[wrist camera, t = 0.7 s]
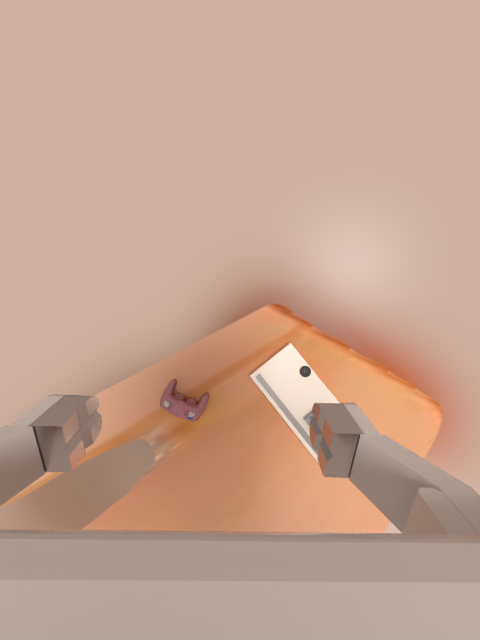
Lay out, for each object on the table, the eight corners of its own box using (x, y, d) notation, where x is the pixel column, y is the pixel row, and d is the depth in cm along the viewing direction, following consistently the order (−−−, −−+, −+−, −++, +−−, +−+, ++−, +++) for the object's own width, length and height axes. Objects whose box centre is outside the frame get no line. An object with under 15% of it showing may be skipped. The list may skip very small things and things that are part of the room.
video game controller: (168, 390, 56) (153, 411, 50) (172, 376, 55) (157, 395, 48) (206, 406, 56) (195, 428, 49) (211, 392, 54) (201, 413, 48)
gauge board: (361, 432, 53) (382, 448, 45) (321, 466, 52) (335, 488, 44) (288, 343, 55) (296, 343, 47) (249, 374, 55) (250, 380, 47)
